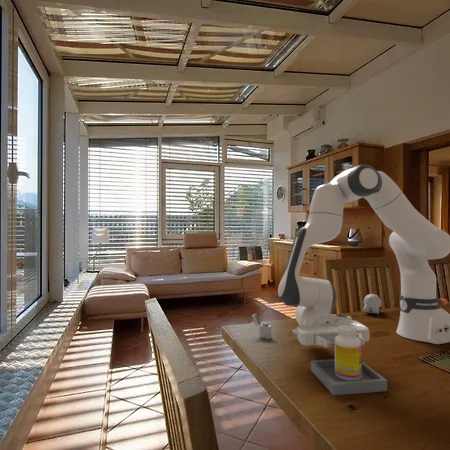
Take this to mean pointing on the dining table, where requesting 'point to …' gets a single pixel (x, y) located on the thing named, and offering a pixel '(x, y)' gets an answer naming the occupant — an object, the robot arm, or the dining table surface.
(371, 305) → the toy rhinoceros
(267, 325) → the lighter
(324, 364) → the tray
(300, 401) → the dining table surface
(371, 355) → the dining table surface
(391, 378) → the dining table surface
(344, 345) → the supplement bottle
